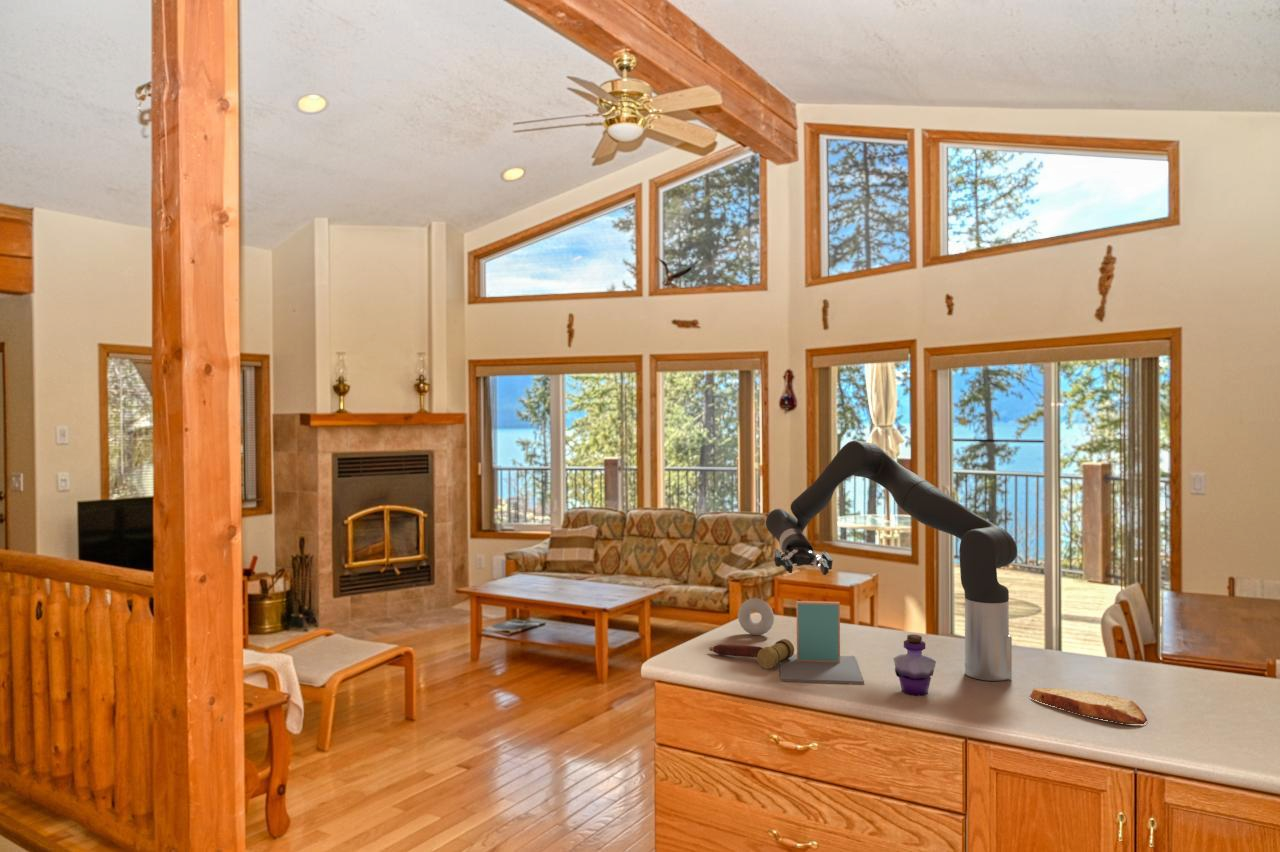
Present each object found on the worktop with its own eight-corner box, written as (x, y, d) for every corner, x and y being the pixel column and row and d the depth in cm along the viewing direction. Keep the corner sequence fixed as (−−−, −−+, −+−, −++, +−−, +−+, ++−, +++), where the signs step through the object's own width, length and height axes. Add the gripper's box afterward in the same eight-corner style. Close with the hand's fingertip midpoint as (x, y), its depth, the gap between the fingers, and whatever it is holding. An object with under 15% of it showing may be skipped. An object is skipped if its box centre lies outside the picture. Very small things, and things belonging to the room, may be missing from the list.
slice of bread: (1024, 695, 181) (1024, 678, 181) (1114, 698, 179) (1114, 680, 179) (1055, 726, 163) (1055, 706, 163) (1156, 729, 161) (1156, 709, 161)
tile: (839, 660, 204) (839, 601, 204) (840, 662, 203) (839, 603, 203) (796, 659, 206) (796, 600, 206) (797, 661, 204) (796, 602, 204)
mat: (855, 658, 208) (855, 656, 208) (864, 684, 188) (864, 681, 188) (779, 656, 211) (779, 653, 211) (780, 681, 191) (780, 678, 191)
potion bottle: (894, 684, 188) (893, 629, 188) (935, 687, 186) (935, 632, 186) (892, 696, 180) (892, 639, 180) (936, 700, 177) (936, 642, 177)
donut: (736, 634, 232) (735, 597, 232) (740, 631, 235) (739, 595, 235) (772, 638, 228) (772, 600, 228) (775, 635, 231) (775, 598, 231)
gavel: (697, 644, 210) (719, 635, 218) (699, 662, 210) (720, 653, 218) (773, 649, 198) (793, 639, 206) (775, 669, 198) (795, 658, 205)
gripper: (770, 531, 226) (781, 554, 210) (823, 534, 227) (838, 557, 211) (767, 558, 228) (778, 583, 212) (820, 561, 228) (835, 586, 213)
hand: (808, 570), depth 211 cm, fingers open, 8 cm apart
